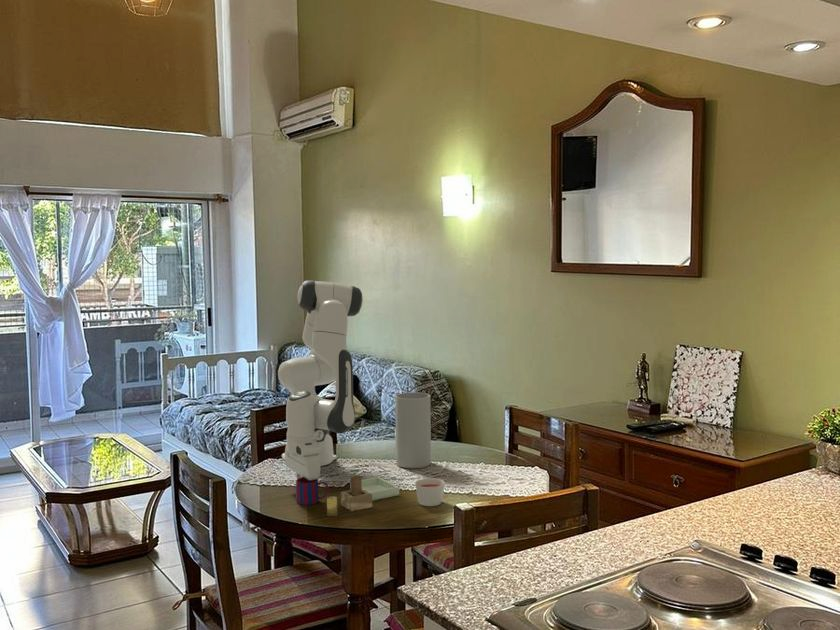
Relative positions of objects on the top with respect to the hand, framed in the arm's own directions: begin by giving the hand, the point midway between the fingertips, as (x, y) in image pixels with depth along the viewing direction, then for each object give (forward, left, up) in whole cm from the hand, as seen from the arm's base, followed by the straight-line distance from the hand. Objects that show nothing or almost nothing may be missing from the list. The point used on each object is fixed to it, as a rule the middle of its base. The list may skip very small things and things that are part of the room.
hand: (302, 486), depth 243 cm
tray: (+10, +20, -3) cm, 23 cm away
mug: (+8, 0, -3) cm, 8 cm away
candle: (+29, +30, -3) cm, 41 cm away
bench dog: (+22, 0, -3) cm, 22 cm away
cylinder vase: (-10, +48, -3) cm, 49 cm away
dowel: (+19, +10, -3) cm, 21 cm away
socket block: (+19, +10, -3) cm, 21 cm away
